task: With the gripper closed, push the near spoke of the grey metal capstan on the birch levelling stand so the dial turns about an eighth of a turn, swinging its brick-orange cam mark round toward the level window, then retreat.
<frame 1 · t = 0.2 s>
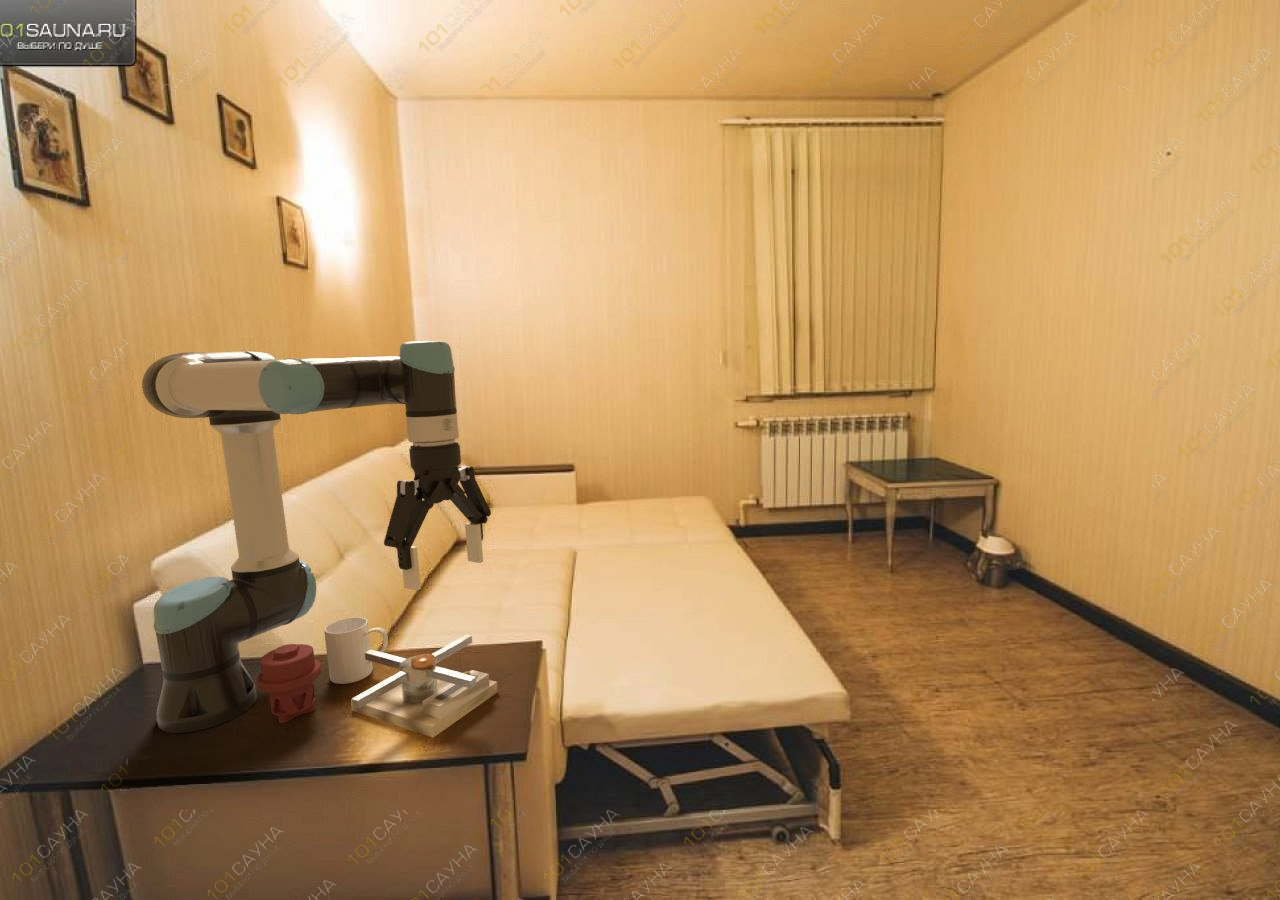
hand: (445, 574, 103), 28 cm above the table, fingers open, 13 cm apart
mug: (361, 675, 129), on the table
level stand: (426, 701, 118), on the table
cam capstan: (418, 675, 115), point 6 cm above the table, hinge at 0.0°
mechanical component: (294, 714, 116), on the table
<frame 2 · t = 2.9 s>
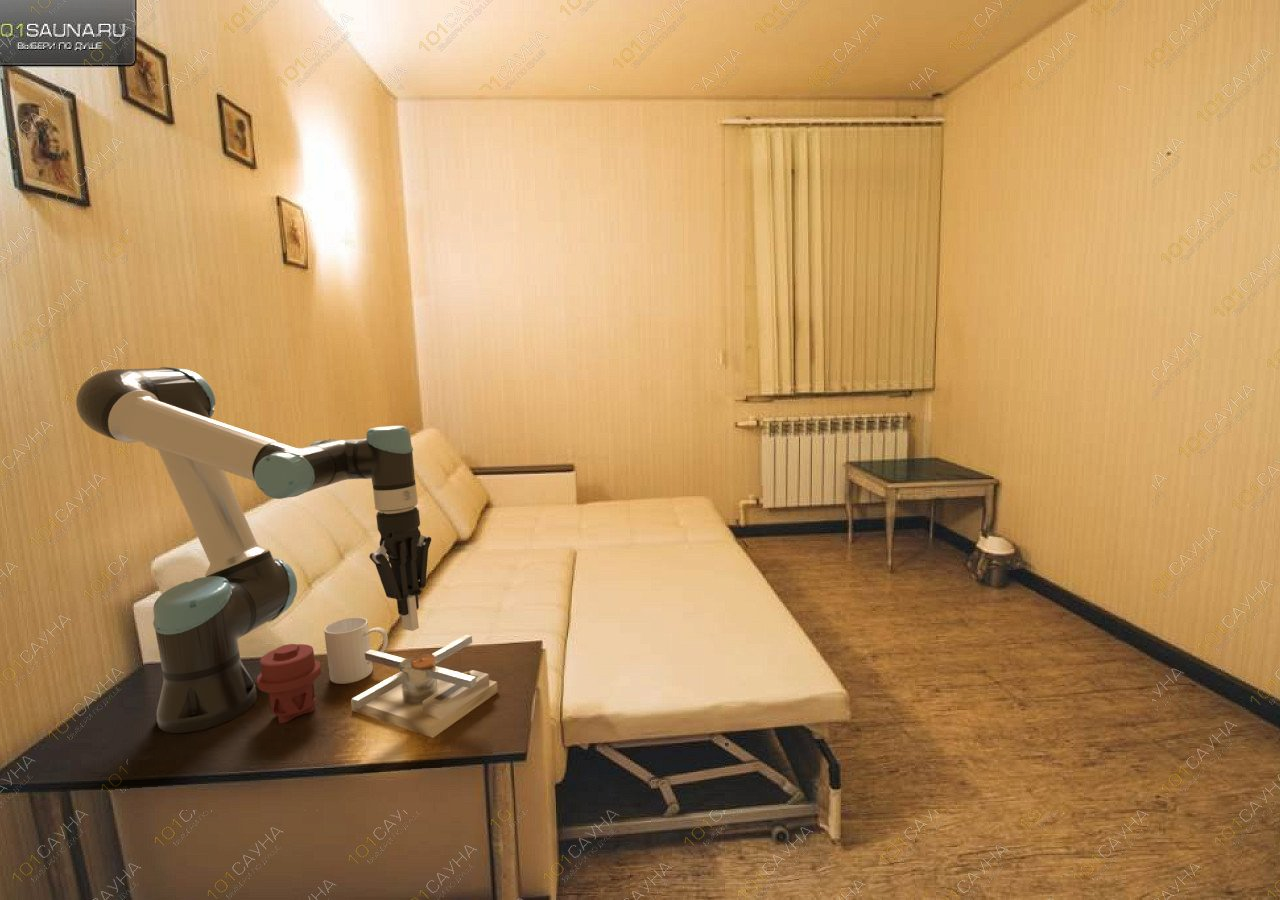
hand: (410, 628, 124), 11 cm above the table, fingers closed
nothing on the table moved.
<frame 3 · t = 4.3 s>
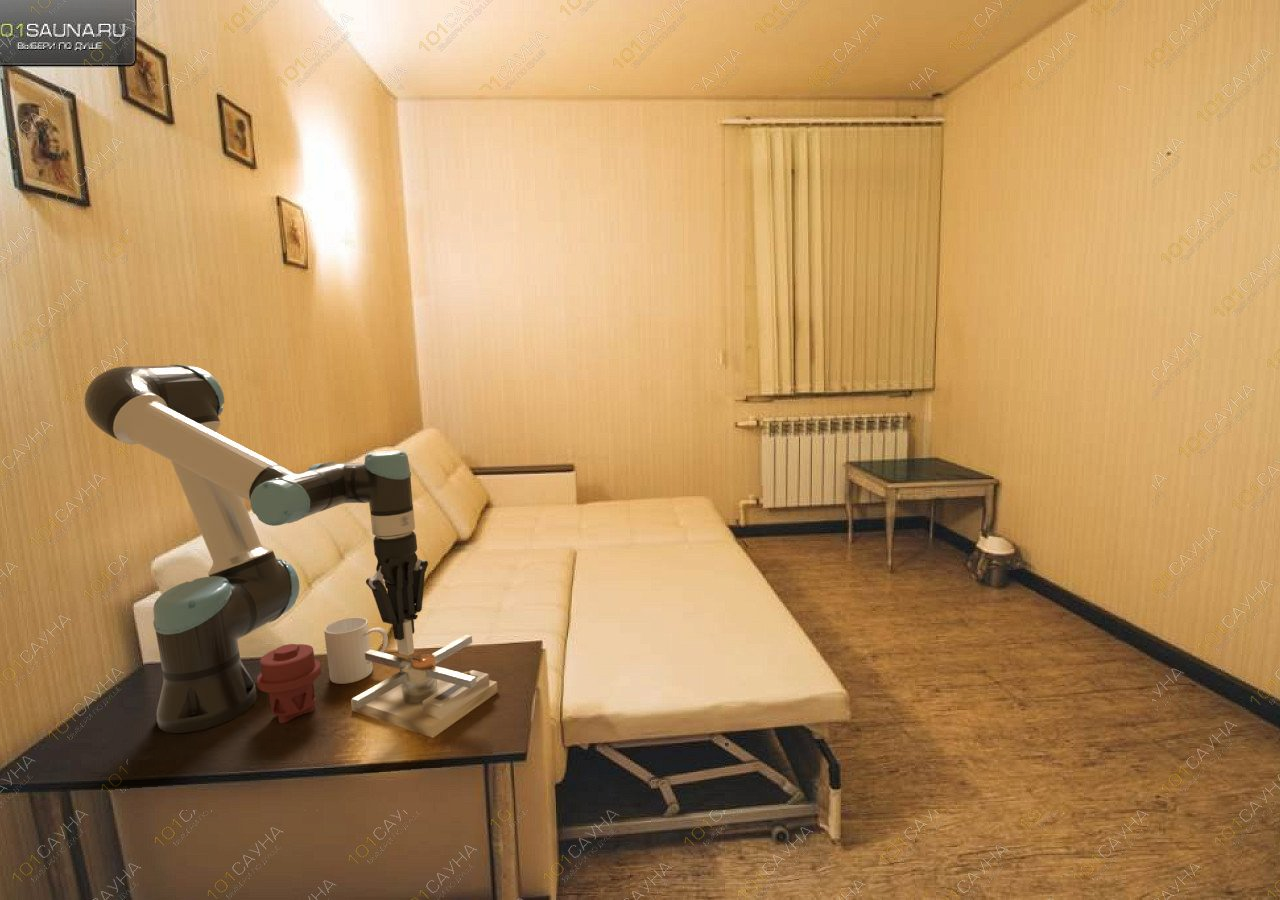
hand: (406, 652, 124), 6 cm above the table, fingers closed
nothing on the table moved.
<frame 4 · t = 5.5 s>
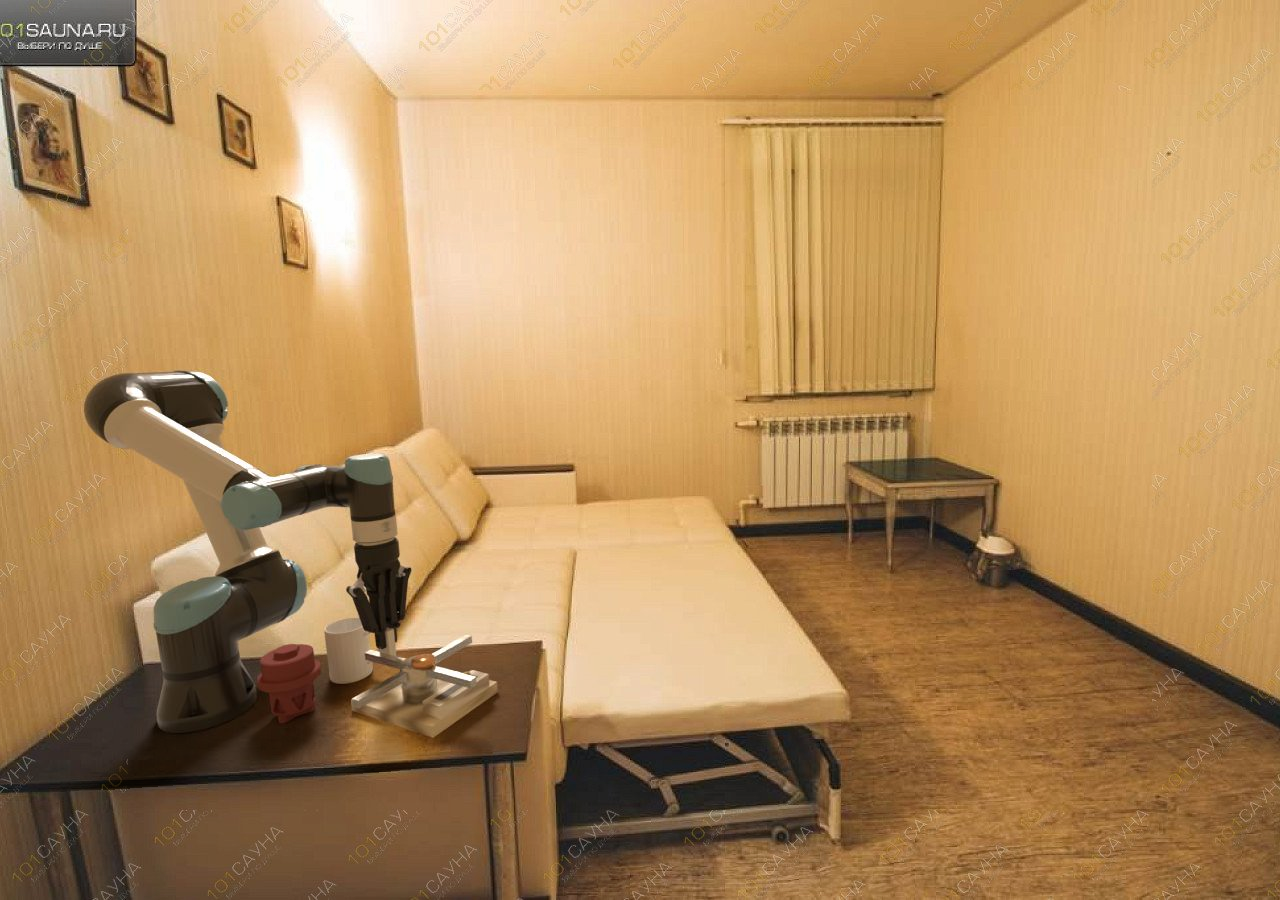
hand: (388, 661, 121), 6 cm above the table, fingers closed
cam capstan: (418, 675, 115), point 6 cm above the table, hinge at 0.2°, touching gripper
everything else where it was.
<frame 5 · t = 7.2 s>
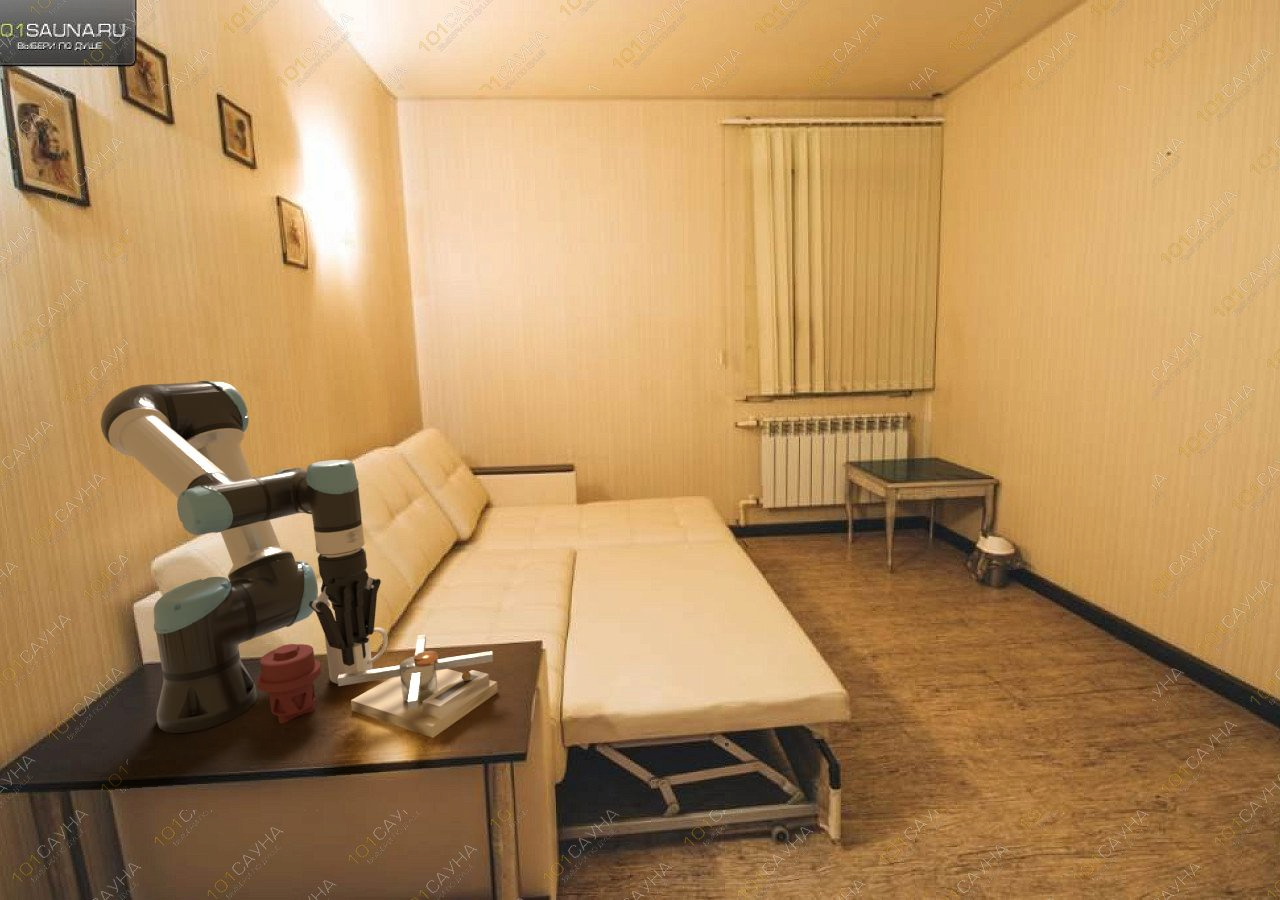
hand: (357, 678, 114), 6 cm above the table, fingers closed
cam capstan: (418, 675, 115), point 6 cm above the table, hinge at 43.8°, touching gripper
everything else where it was.
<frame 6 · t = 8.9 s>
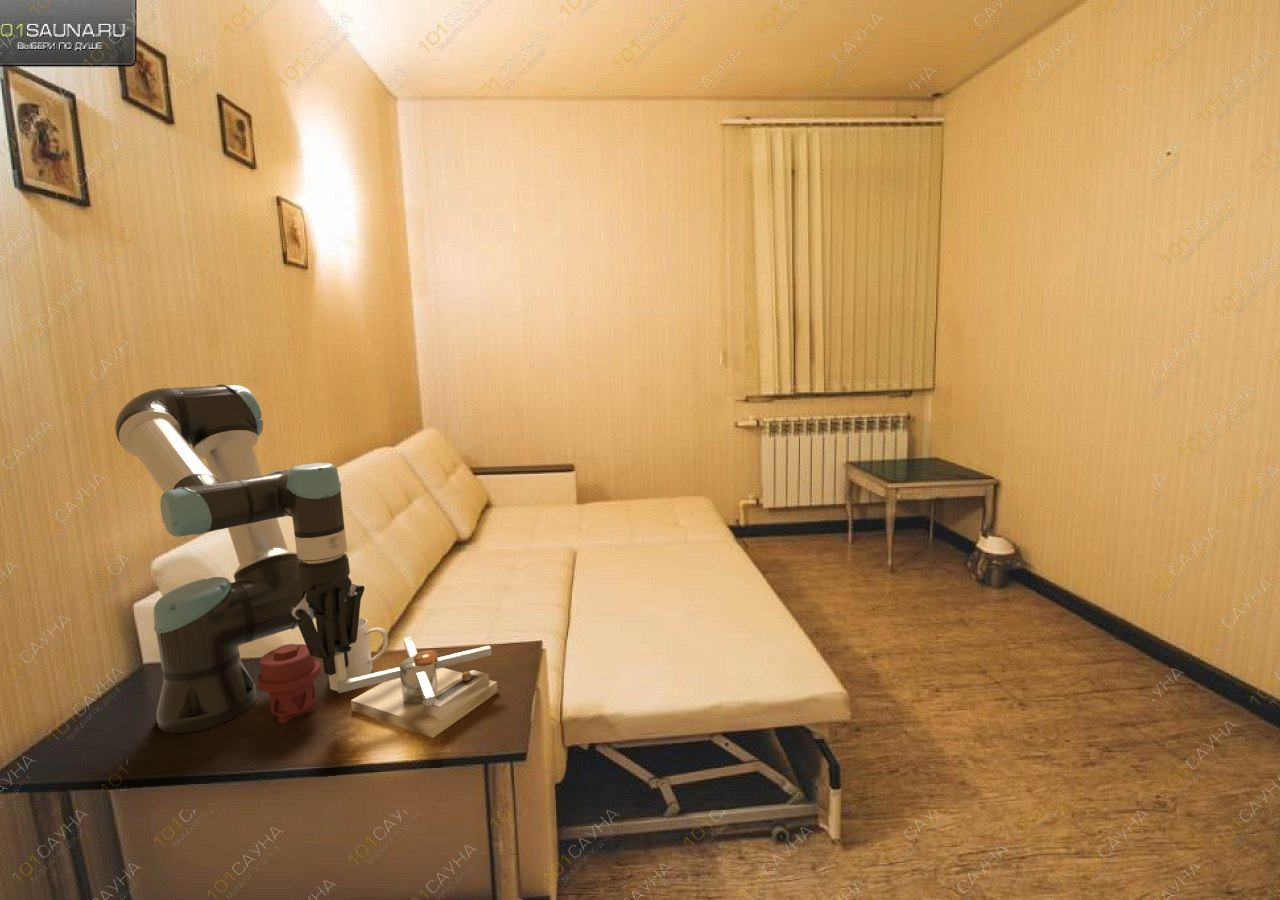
hand: (339, 688, 111), 6 cm above the table, fingers closed
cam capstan: (418, 675, 115), point 6 cm above the table, hinge at 55.6°, touching gripper
everything else where it was.
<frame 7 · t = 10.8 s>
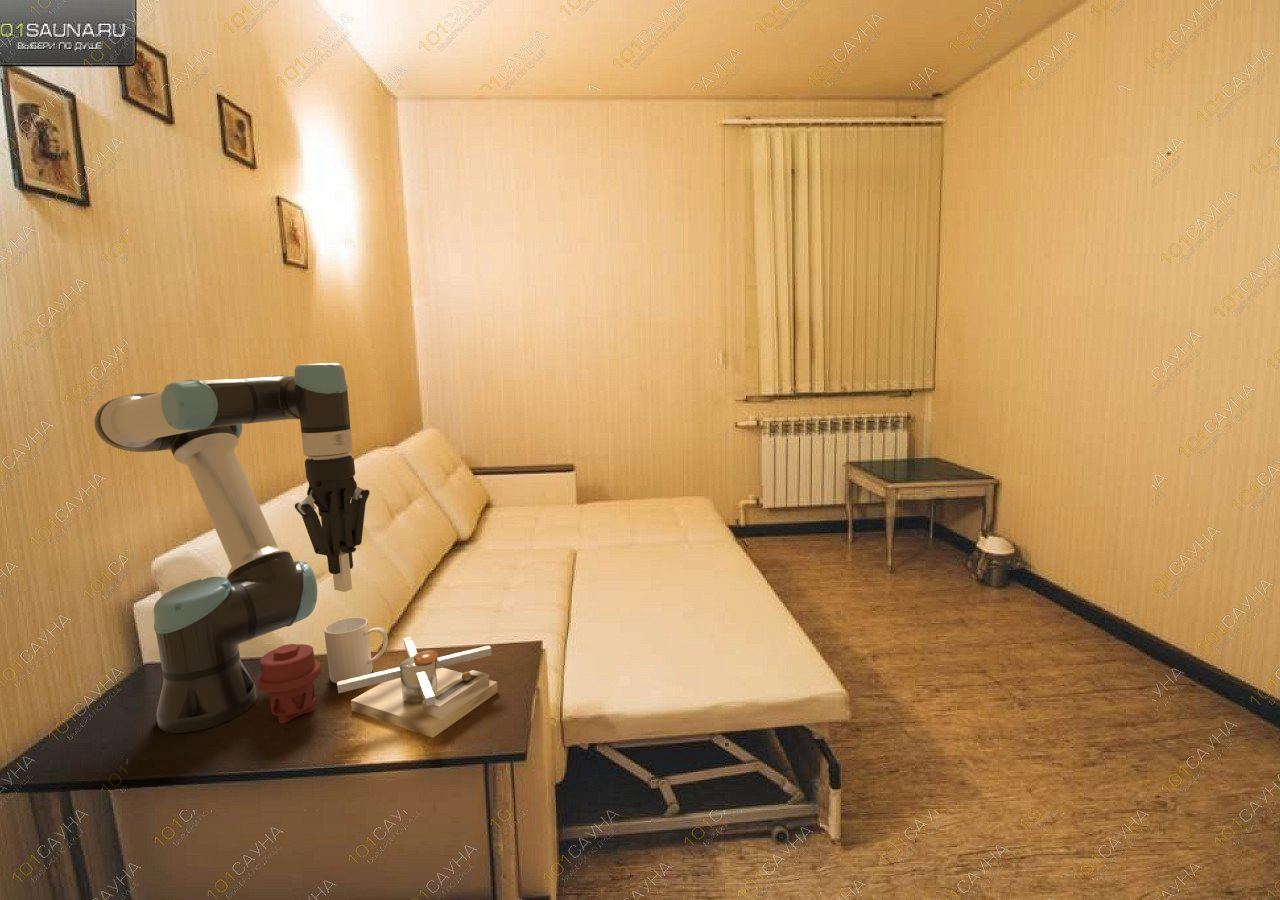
hand: (343, 589, 112), 23 cm above the table, fingers closed
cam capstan: (418, 675, 115), point 6 cm above the table, hinge at 55.6°
everything else where it was.
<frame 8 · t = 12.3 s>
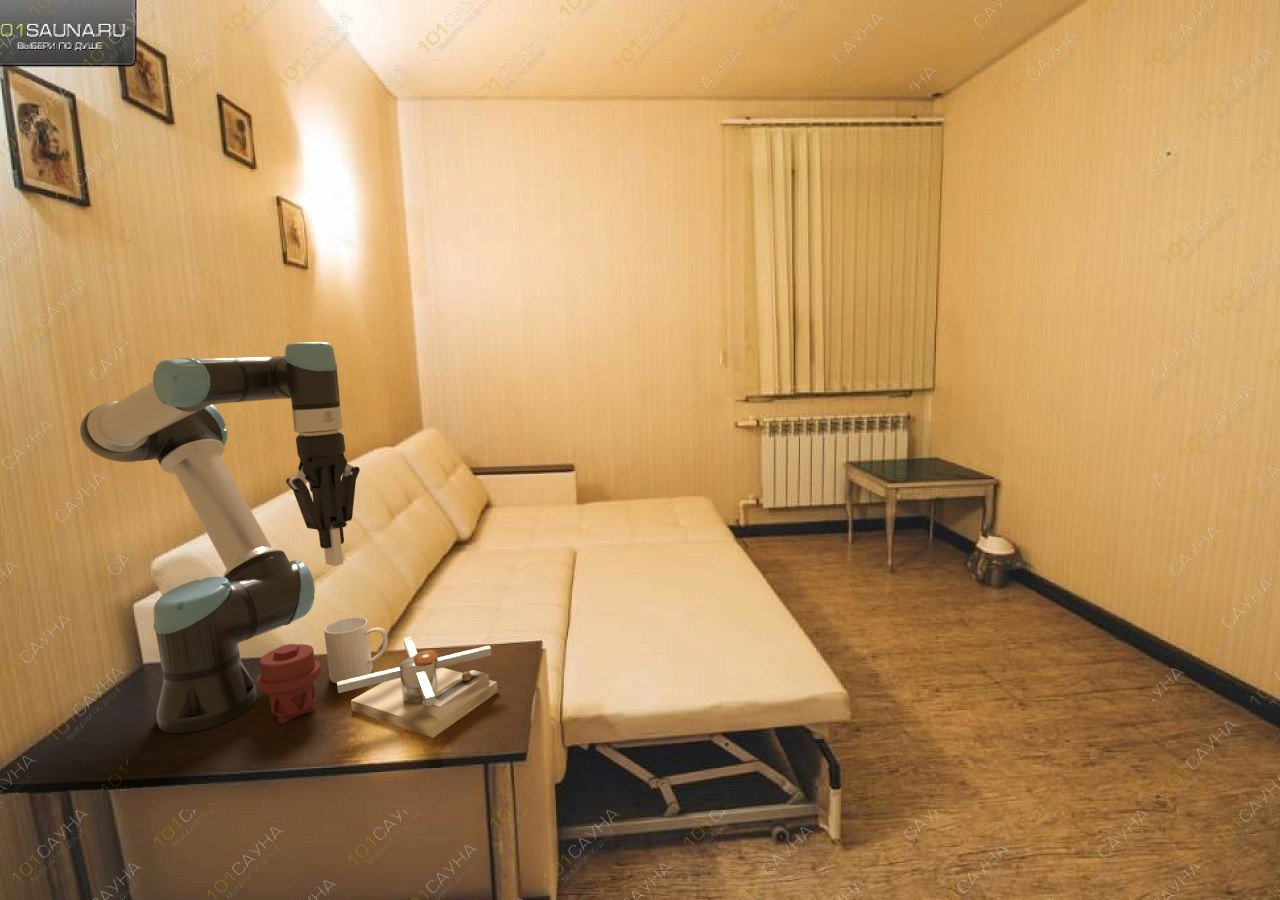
hand: (334, 563, 115), 26 cm above the table, fingers closed
nothing on the table moved.
at the end: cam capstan at +56° (first picture: +0°) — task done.
